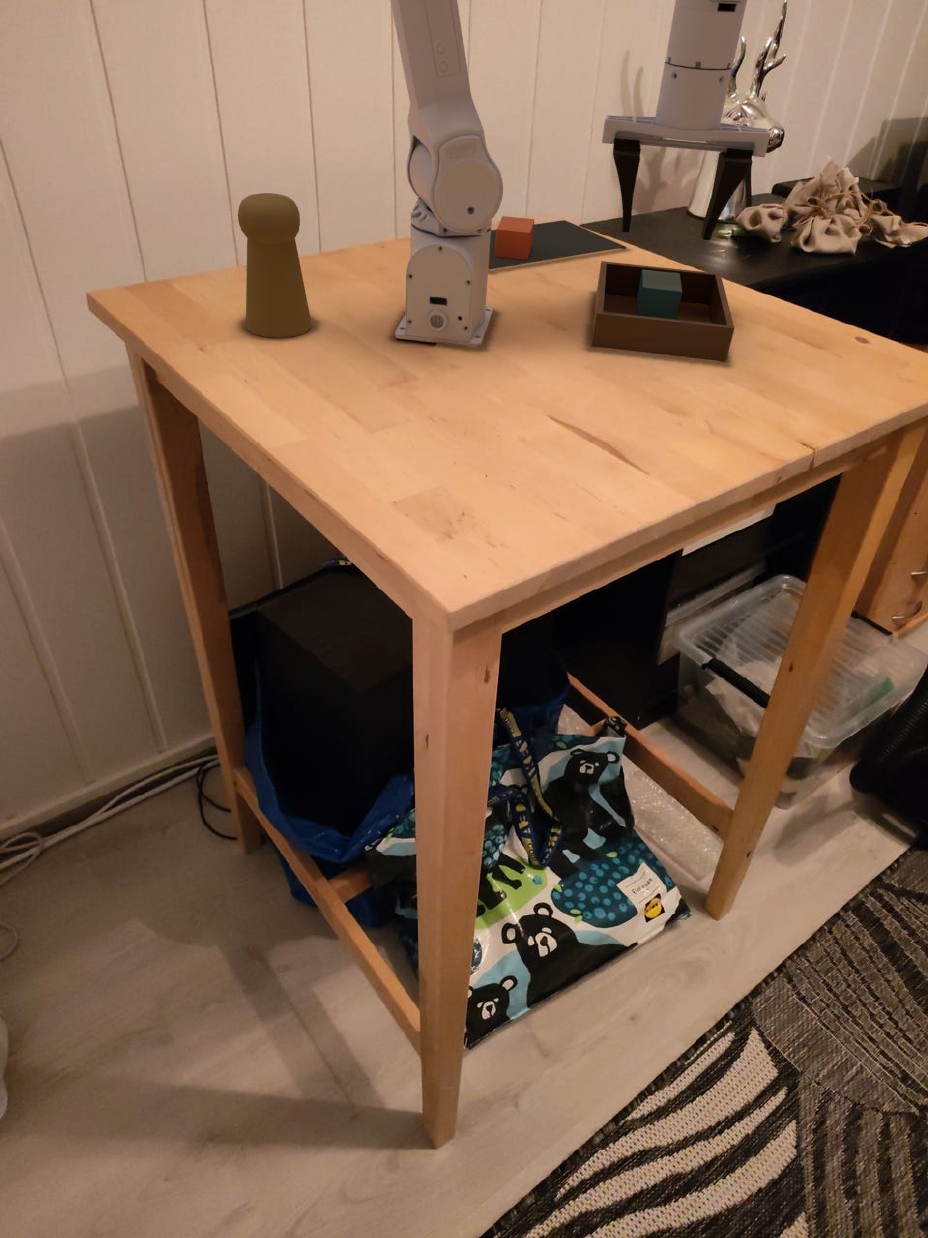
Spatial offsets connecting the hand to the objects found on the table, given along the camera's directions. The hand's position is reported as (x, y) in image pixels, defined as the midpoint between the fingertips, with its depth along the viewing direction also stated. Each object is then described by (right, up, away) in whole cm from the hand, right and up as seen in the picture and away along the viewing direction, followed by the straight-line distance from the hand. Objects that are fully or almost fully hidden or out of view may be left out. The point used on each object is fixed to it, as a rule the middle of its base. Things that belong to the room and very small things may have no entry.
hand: (665, 233), depth 80 cm
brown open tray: (-1, -8, +2) cm, 9 cm away
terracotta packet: (-14, +6, +16) cm, 22 cm away
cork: (-37, -10, -3) cm, 38 cm away
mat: (-11, +8, +20) cm, 24 cm away
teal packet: (0, -6, +4) cm, 7 cm away
